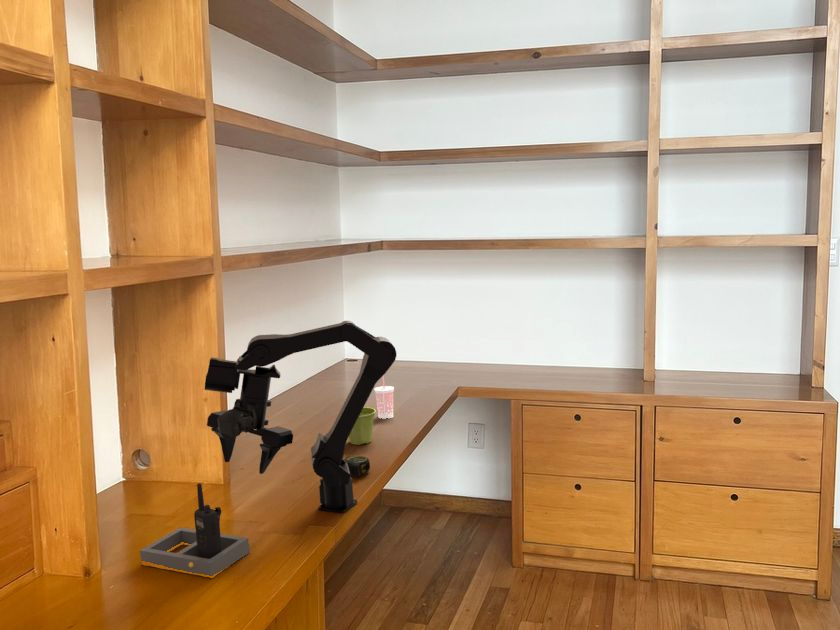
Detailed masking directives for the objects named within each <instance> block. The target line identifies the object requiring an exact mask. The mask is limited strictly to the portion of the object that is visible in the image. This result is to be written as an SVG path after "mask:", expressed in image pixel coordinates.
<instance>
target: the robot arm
mask: <svg viewBox="0 0 840 630" xmlns="http://www.w3.org/2000/svg"><path fill="white" fill-rule="evenodd" d="M344 342H345V343H346V342H347V343H349V344H350V345H352V346H354V347H355V348H356V349H358V350H359V351H361V353H363V356H362V360H361V365H360V369H359V373H358V375H357V378H356V379H355V381H354V383H353V385H352V386H351V388H350V391H349V393H348V395H347V397H346V399H345V401H344V403H343V405H342V406H341V408H340V411H339V412H338V414H337V416H336V418H335V420H334V422H333V425H332V426H331V428H330V429H329V431H328V432H326V433H325V435H323V434H322V433H321V432H319V433H318V435H317V437H316V440H315V442H314V444H313V445H312V446H311V447H310V452H311V464H312V469H313V472H314V473H315V474H316V475H317V476H318V477H320V479H319V483H320V484H319V486H318V492H319V503H320V505H319V506H317V509H318V510H320V511H327V512H335V513H343V514H344V513H345V512H347V511H348V510H349V509H350V508H352V507H353V506H354V505H356V504H357V503H358V499H354V490H353V489H354V487H353V478H352V477H351V476H352V475H350V471H349V468H348V465H347V462H346V461H344V459H343V458H344V454H345V449H346V444H347V441H348V440H349V435H350V433H351V431H352V429H353V427H354V425H355V423H356V421H357V419H358V417H359V415H360V413H361V411H362V409H363V407H365V406H366V404H367V401H368V399H370V398H369V397H371V394H372V391H373V390H374V389H375V387H376V385H377V383H378V381H380V380H381V378H383V375H384V376H385V374H387V372H388V371H389V369H390V368H391V367H392V365H393V364H394V363H395V362H396V359H397V350H396V347H395V346H394V345H393V344H392V342H391V341H390V340H389V339H387V338H386V337H384V336H375V335H373V334H371V333H369V331H366V330H365V329H362V328H361V327H360V326H357V325H356V324H355V323H354V322H353V321H350V320H344V321H342V322H339V323H335V324H330V325H325V326H320V327H317V328H312V329H308V330H303V331H299V332H294V333H290V334H279V333H278V334H276V333H274V334H258V335H256V336H254V337H252V338H251V339H250V341H249V342H248V344H247V349H246V350H245V351H244V352H243V353H242V354H241V355H239V356H238V358H237V359H236V360H229V359H220V358H218V357H210V359H209V363H208V368H207V373H206V374H205V382H204V391H211V392H219V393H228V394H232V393H233V391H236V390H238V389H239V384H240V378H241V375H243V376H242V383H241V390H240V398H236V399H235V401H234V403H233V407H232V408H230V409H228V410H226V409H225V410H220V411H215V412H211V413H210V414H209V415H208V416H207V421H206V427H209V428H210V430H211V432H213V433H214V434H216V435H217V437H218V439H219V441H220V445H221V450H222V451H221V452H222V454H223V459H224V462H225V463H230V461H231V458H232V455H233V451H234V447H235V444H236V440H237V437H239V436H241V434H242V433H245V434H246V433H249V434H253V435H256V436H259V437H261V439H260V440H261V441H262V443H260V444H259V448H260V450H261V455H260V460H259V461H260V463H259V469H258V471H259V472H258V473H259V475H263V474H264V473H265V472H266V470H267V469H268V467H269V465H270V464H271V462H272V461H273V459H274V457H275V456H276V455H277V453H278V452H279V451H280V450H281V448H283V447H287V445H291V444H293V440H294V433H293V431H292V430H291V429H288V428H284V427H282V426H279V425H278V426H272V427H268V428H267V427H265V426H268V425H269V420H268V419H266V415H267V408H268V407H271V406H272V401H270V400H269V394H270V390H271V389H270V387H271V380H272V379H273V378H274V379H280V378H281V372H280V371H279V370H278V368H276V364H273V363H275V362H278V361H280V360H282V359H284V358H286V357H288V356H290V355H293V354H296V353H301V352H306V351H309V350H312V349H313V350H314V349H318V348H322V347H327V346H330V345H336V344H340V343H344ZM271 364H272V365H271ZM269 365H271V366H270V367H266V366H269ZM253 367H255V369H253ZM251 368H252V369H251Z"/></svg>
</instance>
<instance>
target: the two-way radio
mask: <svg viewBox="0 0 840 630" xmlns="http://www.w3.org/2000/svg"><path fill="white" fill-rule="evenodd" d="M196 486H197V488H196V489H197V490H196V491H197V501H198V502H197V503H198V504H197V506H198V509H196V510H195V511H194V513H193V516H194V526H195V530H196V538H197V540H196V542H197V546H198V555H199V557H201V558H206V559H211V558H212V557H214V556H215V555H217V554H218V553H220V552H221V536H220V534H221V525H220V521H221V520H220V519H221V514H222V508H221V507H220V506H217V507H214V509H213V508H211V506H210V504H205V499H204V492H203V487H202V483H200V482H198V483H197V485H196Z"/></svg>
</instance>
